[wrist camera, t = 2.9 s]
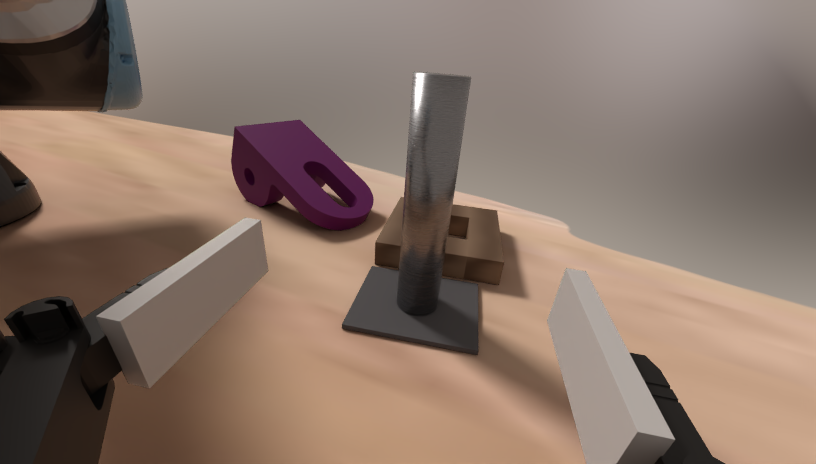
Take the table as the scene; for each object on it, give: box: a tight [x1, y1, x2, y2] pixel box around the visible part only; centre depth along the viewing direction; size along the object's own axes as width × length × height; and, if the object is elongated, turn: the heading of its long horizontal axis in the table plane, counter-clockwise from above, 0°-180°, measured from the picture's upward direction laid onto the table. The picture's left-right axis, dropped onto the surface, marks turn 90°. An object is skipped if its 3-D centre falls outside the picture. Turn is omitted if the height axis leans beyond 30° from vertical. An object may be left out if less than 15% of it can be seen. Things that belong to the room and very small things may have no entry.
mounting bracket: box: [231, 120, 373, 231], centre depth 43 cm, size 10×8×18 cm
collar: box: [375, 197, 504, 285], centre depth 36 cm, size 12×12×2 cm
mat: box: [342, 266, 478, 355], centre depth 27 cm, size 10×8×1 cm
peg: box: [397, 72, 471, 316], centre depth 23 cm, size 3×3×17 cm
